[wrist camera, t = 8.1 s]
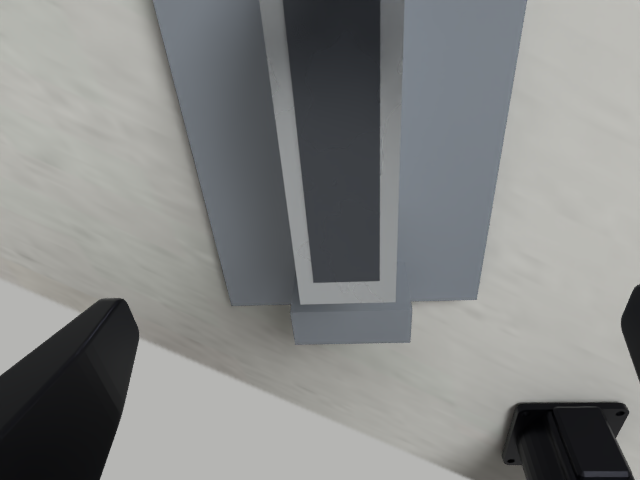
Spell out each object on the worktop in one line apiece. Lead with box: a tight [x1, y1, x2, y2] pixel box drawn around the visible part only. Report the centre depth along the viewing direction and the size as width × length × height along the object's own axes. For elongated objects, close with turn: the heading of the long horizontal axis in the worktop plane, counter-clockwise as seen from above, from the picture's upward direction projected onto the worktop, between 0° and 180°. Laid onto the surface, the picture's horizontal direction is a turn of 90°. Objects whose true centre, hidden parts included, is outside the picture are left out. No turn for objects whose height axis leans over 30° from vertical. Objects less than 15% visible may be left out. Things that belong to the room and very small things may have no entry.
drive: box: [259, 0, 405, 305], centre depth 15 cm, size 10×3×6 cm, turn 4°
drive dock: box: [153, 0, 527, 345], centre depth 16 cm, size 22×12×5 cm, turn 4°
